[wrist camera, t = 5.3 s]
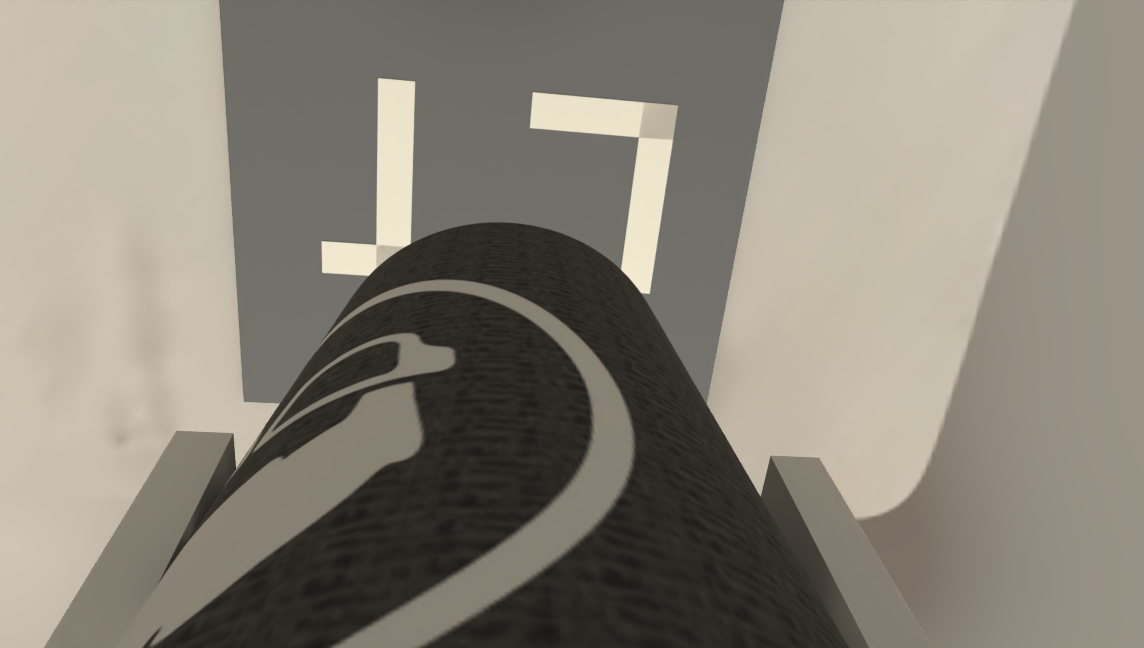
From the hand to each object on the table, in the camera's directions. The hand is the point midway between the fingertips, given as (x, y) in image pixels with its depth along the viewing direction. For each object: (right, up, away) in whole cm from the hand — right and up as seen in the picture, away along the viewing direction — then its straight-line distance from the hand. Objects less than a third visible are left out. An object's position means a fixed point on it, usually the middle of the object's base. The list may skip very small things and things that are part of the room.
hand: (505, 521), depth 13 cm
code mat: (-2, +8, +18) cm, 19 cm away
